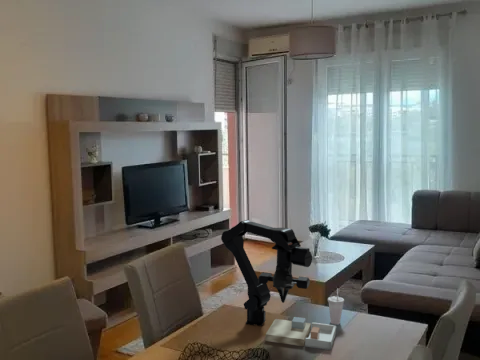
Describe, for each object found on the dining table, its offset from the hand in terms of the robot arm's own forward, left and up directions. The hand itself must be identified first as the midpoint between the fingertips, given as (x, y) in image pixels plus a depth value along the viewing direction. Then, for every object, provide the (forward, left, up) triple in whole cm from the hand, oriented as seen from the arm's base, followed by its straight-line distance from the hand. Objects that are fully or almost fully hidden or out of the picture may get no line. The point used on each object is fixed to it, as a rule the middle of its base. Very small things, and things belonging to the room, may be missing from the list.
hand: (283, 302), depth 188 cm
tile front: (+12, -7, -8) cm, 16 cm away
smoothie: (+18, +14, -11) cm, 26 cm away
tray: (+15, -3, -11) cm, 19 cm away
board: (+3, -3, -11) cm, 12 cm away
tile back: (+6, 0, -9) cm, 11 cm away
